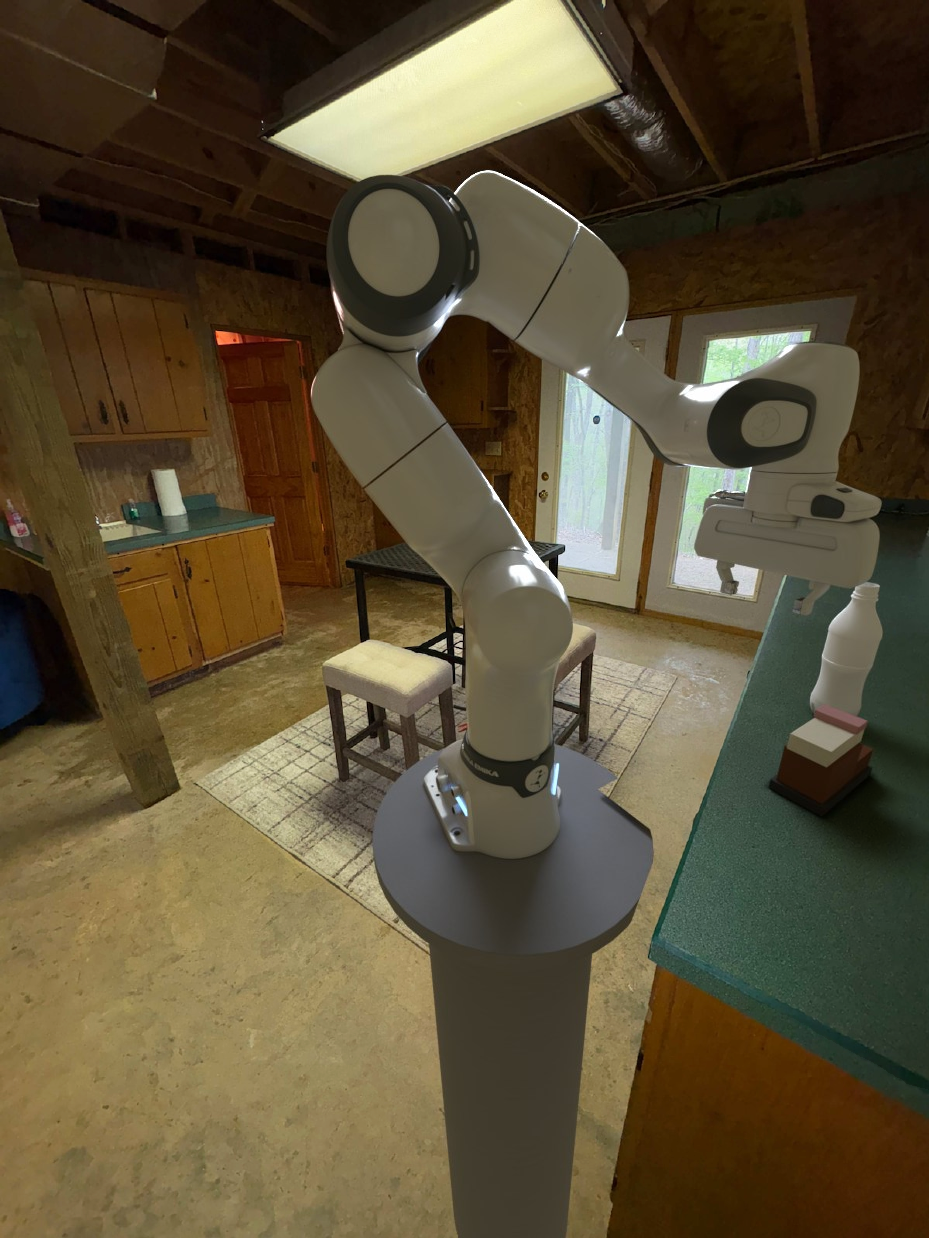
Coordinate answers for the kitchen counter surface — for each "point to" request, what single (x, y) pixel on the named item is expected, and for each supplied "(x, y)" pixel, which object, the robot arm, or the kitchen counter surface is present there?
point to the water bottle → (849, 652)
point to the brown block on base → (821, 778)
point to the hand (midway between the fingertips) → (762, 602)
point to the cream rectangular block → (827, 735)
